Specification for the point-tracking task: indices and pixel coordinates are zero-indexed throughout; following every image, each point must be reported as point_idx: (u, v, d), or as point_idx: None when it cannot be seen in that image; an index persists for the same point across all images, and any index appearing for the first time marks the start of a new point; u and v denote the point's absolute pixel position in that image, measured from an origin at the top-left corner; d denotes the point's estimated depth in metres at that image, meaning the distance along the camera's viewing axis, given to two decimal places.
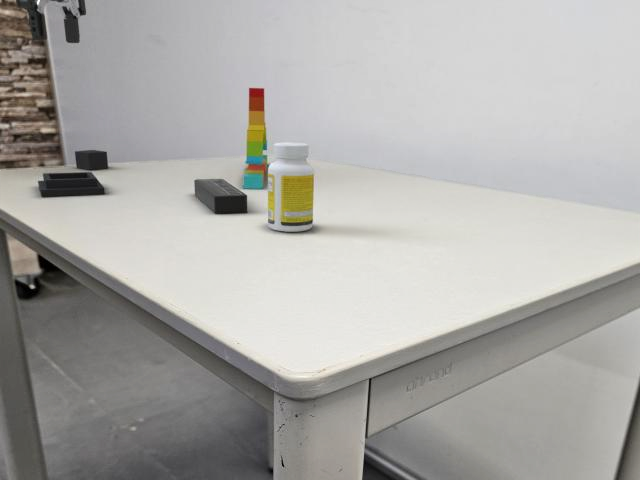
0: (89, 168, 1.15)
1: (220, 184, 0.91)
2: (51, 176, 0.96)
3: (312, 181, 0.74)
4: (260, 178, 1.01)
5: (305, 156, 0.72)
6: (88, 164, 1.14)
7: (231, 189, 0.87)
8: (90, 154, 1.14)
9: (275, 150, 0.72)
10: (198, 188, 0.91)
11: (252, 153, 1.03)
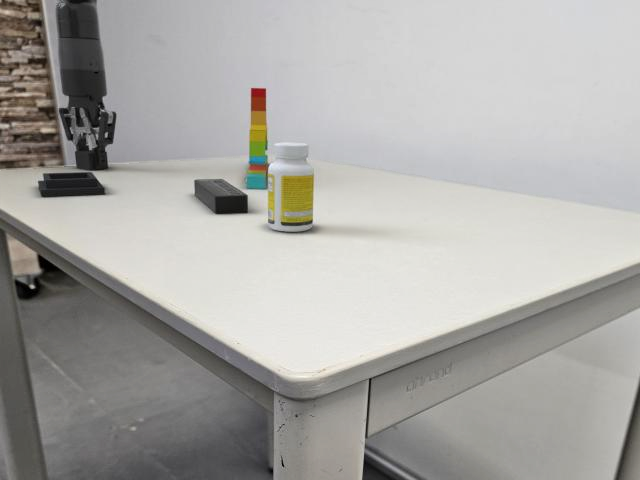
0: (89, 168, 1.15)
1: (220, 184, 0.91)
2: (51, 176, 0.96)
3: (312, 181, 0.74)
4: (263, 178, 1.01)
5: (305, 156, 0.72)
6: (89, 164, 1.14)
7: (231, 189, 0.87)
8: (90, 154, 1.14)
9: (275, 150, 0.72)
10: (198, 188, 0.91)
11: (255, 153, 1.03)
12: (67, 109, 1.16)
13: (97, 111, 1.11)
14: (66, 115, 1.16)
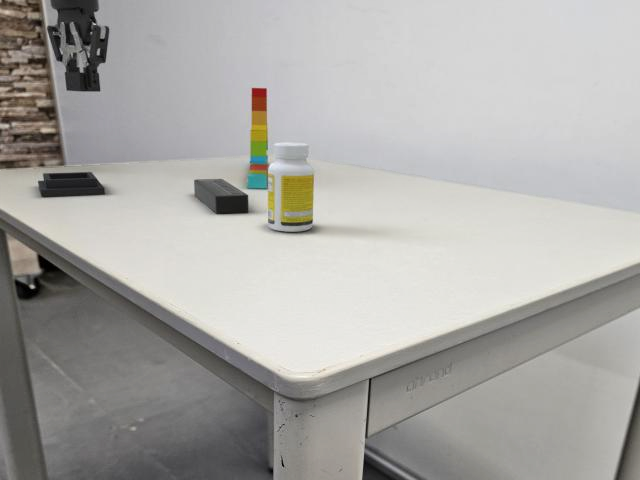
0: (80, 89, 1.08)
1: (220, 184, 0.91)
2: (51, 176, 0.96)
3: (312, 181, 0.74)
4: (264, 178, 1.01)
5: (305, 156, 0.72)
6: (79, 84, 1.07)
7: (232, 189, 0.87)
8: (81, 74, 1.07)
9: (275, 150, 0.72)
10: (198, 188, 0.91)
11: (256, 153, 1.03)
12: (56, 27, 1.09)
13: (88, 25, 1.04)
14: (55, 33, 1.08)
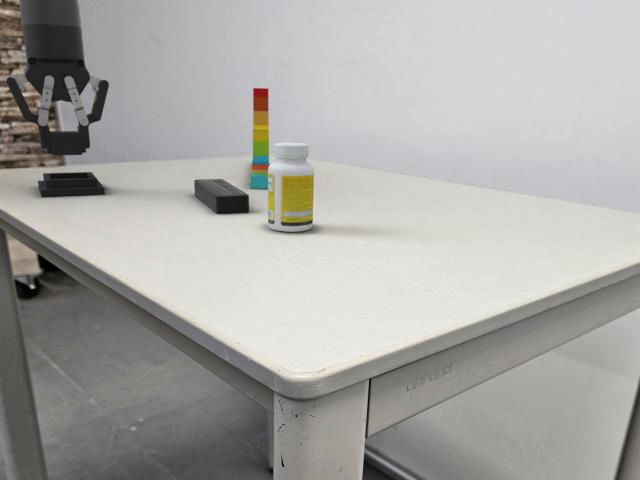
0: (80, 152, 0.92)
1: (220, 184, 0.91)
2: (51, 176, 0.96)
3: (312, 181, 0.74)
4: (267, 178, 1.01)
5: (305, 156, 0.72)
6: (80, 147, 0.92)
7: (232, 189, 0.87)
8: None
9: (275, 150, 0.72)
10: (198, 188, 0.91)
11: (258, 153, 1.03)
12: (19, 79, 0.87)
13: (89, 80, 0.90)
14: (22, 87, 0.87)
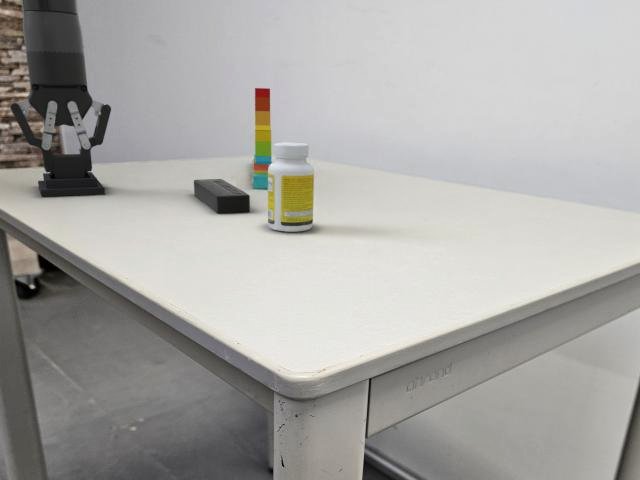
0: (83, 175, 0.93)
1: (220, 184, 0.91)
2: (51, 176, 0.96)
3: (312, 181, 0.74)
4: None
5: (305, 156, 0.72)
6: (83, 170, 0.93)
7: (232, 189, 0.87)
8: (82, 158, 0.93)
9: (275, 150, 0.72)
10: (198, 188, 0.91)
11: (261, 153, 1.03)
12: (22, 104, 0.88)
13: (91, 104, 0.91)
14: (25, 112, 0.88)
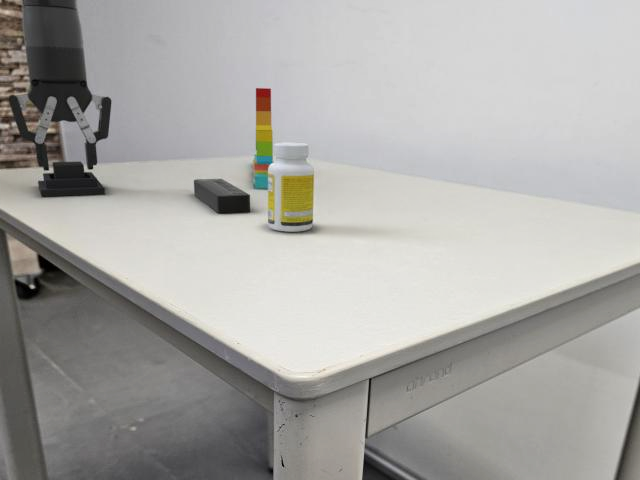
0: None
1: (221, 184, 0.91)
2: (51, 176, 0.96)
3: (312, 181, 0.74)
4: None
5: (305, 156, 0.72)
6: None
7: (233, 189, 0.87)
8: None
9: (275, 150, 0.72)
10: (198, 188, 0.91)
11: (262, 153, 1.03)
12: (21, 97, 0.88)
13: (91, 100, 0.91)
14: None
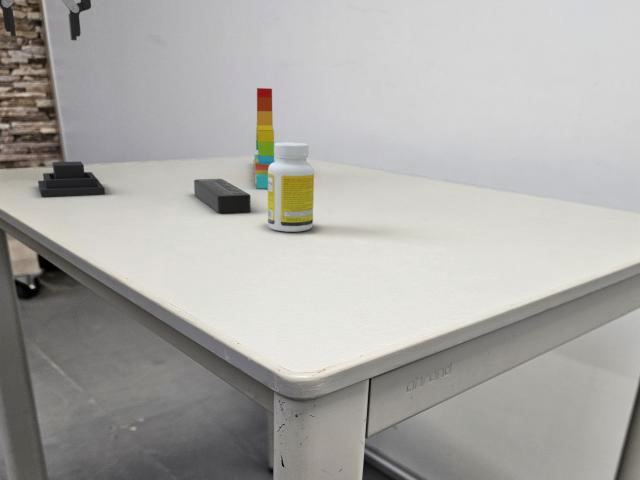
0: None
1: (221, 184, 0.91)
2: (51, 176, 0.96)
3: (312, 181, 0.74)
4: None
5: (305, 156, 0.72)
6: None
7: (233, 189, 0.88)
8: None
9: (275, 150, 0.72)
10: (199, 188, 0.91)
11: (264, 153, 1.03)
12: None
13: None
14: None
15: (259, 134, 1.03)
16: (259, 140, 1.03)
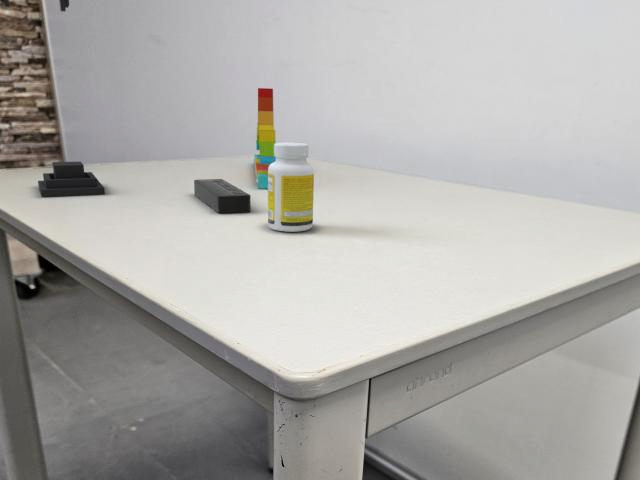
0: None
1: (221, 184, 0.91)
2: (51, 176, 0.96)
3: (312, 181, 0.74)
4: None
5: (305, 156, 0.72)
6: None
7: (233, 189, 0.88)
8: None
9: (275, 150, 0.72)
10: (199, 188, 0.91)
11: (265, 153, 1.03)
12: None
13: None
14: None
15: (260, 134, 1.03)
16: (260, 140, 1.03)
